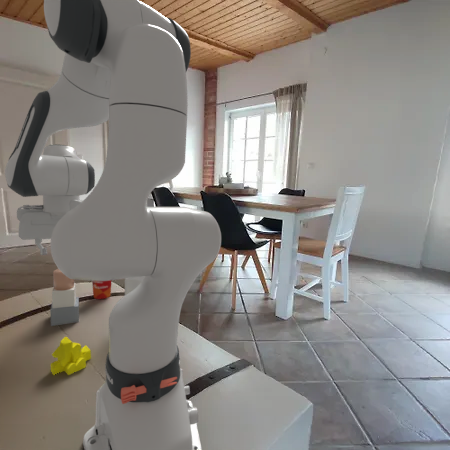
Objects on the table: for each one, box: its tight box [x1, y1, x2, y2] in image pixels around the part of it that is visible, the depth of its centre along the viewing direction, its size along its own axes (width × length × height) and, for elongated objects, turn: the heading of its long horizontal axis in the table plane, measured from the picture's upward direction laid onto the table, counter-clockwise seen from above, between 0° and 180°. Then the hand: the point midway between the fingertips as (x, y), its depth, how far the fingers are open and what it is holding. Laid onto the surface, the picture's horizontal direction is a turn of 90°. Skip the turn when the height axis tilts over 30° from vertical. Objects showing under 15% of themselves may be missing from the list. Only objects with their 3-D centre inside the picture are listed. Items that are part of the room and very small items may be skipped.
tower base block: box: [49, 296, 80, 327], centre depth 83 cm, size 7×7×5 cm
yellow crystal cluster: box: [50, 336, 92, 376], centre depth 63 cm, size 6×8×8 cm
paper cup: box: [91, 280, 113, 300], centre depth 99 cm, size 8×8×14 cm
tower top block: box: [51, 282, 77, 308], centre depth 82 cm, size 6×6×5 cm
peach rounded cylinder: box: [52, 268, 75, 290], centre depth 82 cm, size 5×5×5 cm
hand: (63, 253), depth 80 cm, fingers open, 8 cm apart
